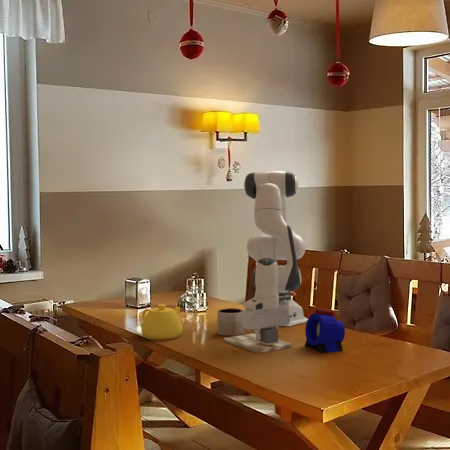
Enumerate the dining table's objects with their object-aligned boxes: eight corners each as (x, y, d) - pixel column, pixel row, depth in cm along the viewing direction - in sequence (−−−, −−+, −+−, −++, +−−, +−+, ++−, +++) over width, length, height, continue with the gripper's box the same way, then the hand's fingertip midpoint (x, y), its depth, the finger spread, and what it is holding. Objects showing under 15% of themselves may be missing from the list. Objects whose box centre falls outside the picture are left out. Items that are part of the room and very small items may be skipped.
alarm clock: (302, 346, 245) (303, 306, 244) (330, 342, 249) (330, 304, 248) (320, 353, 233) (320, 312, 232) (348, 350, 238) (349, 310, 237)
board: (257, 335, 261) (257, 332, 261) (291, 347, 242) (291, 344, 242) (223, 340, 252) (223, 337, 252) (257, 353, 234) (257, 350, 234)
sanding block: (266, 339, 246) (266, 326, 246) (278, 343, 240) (278, 330, 240) (256, 341, 243) (256, 328, 243) (267, 345, 238) (267, 331, 237)
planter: (249, 333, 265) (249, 310, 264) (231, 338, 257) (231, 314, 256) (229, 329, 272) (229, 306, 271) (211, 333, 264) (211, 310, 264)
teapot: (165, 342, 250) (165, 310, 249) (128, 336, 259) (128, 305, 259) (195, 332, 266) (195, 302, 266) (159, 327, 276) (158, 297, 276)
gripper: (283, 298, 249) (283, 333, 250) (239, 303, 238) (239, 340, 239) (293, 300, 244) (293, 336, 245) (249, 306, 233) (249, 344, 234)
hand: (266, 338), depth 242 cm, fingers closed on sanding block, 5 cm apart
